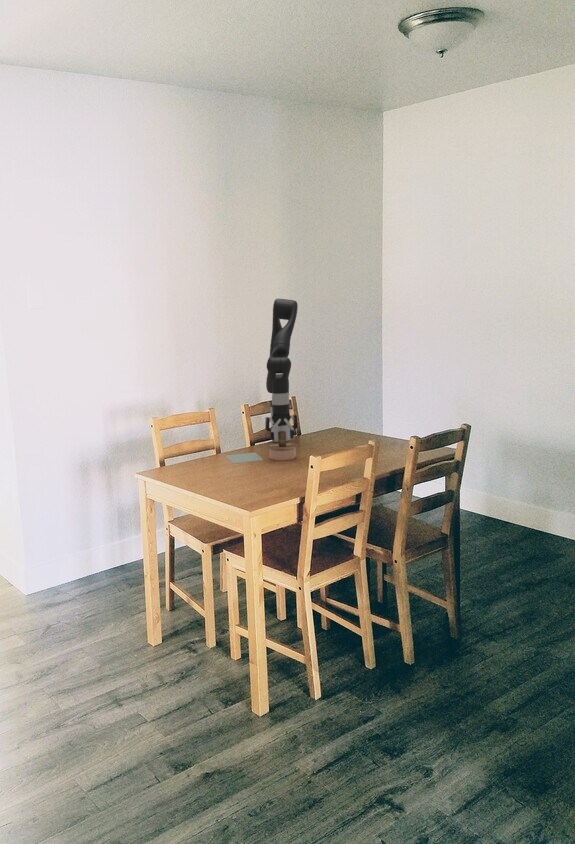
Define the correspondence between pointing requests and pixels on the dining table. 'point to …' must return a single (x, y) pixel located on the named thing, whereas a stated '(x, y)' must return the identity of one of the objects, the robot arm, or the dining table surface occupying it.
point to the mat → (244, 457)
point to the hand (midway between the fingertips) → (282, 439)
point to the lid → (282, 443)
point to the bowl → (283, 455)
